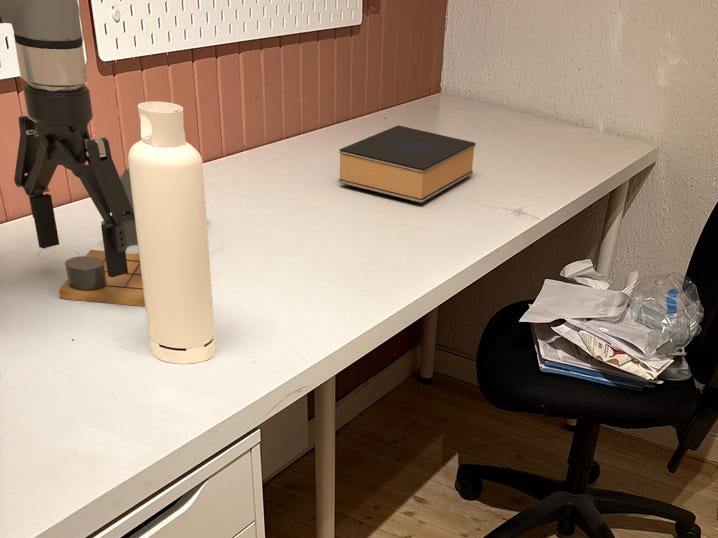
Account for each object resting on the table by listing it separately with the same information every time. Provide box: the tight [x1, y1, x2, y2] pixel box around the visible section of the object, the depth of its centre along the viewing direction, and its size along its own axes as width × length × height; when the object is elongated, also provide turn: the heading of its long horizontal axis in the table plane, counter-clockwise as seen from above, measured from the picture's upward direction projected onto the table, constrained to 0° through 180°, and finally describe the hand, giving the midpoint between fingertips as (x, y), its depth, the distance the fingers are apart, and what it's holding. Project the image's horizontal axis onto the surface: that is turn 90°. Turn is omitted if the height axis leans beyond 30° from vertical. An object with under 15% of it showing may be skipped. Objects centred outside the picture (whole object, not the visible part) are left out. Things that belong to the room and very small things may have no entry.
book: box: [338, 125, 476, 204], centre depth 186 cm, size 17×25×7 cm
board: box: [58, 249, 145, 307], centre depth 136 cm, size 16×16×1 cm
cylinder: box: [64, 255, 107, 290], centre depth 131 cm, size 5×5×3 cm
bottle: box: [127, 101, 217, 365], centre depth 114 cm, size 8×8×28 cm
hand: (83, 260), depth 130 cm, fingers open, 13 cm apart
